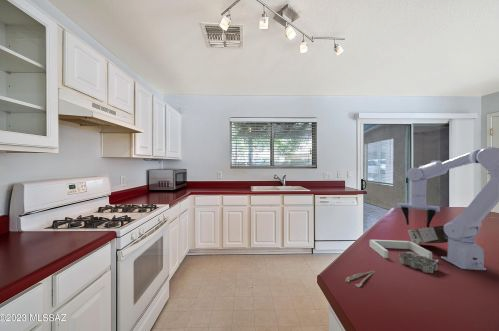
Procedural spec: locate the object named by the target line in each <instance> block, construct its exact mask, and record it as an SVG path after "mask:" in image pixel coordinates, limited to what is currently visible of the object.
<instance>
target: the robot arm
mask: <svg viewBox="0 0 499 331" xmlns="http://www.w3.org/2000/svg"><path fill="white" fill-rule="evenodd" d="M471 164H480V165H481V166H482V167H483V168H485V170H486V171H487V172H488V174H489V175H490V177H491V178H490V179H489V181H488V182H487V183H486V184H485V185H484V186H483V187H482V188H481V190H480V191H479V193H478V194H477V195H475V197H474V198H473V199H472V201H471V202H470V203H469V205H468V206H467V207H466V208H465V209H464V211H463V212H462V213H460V214H458V215H457V216H455V217H454V218H453V219H452V220H450V221H448V222H446V223H445V224H444V225H443V226H444V232H445V234H446V235H447V236H448V242H447V256H440V258H441V259H443V260H445V261H447V262H449V263H451V264H453V265H454V266H456V267H458V268H459V269H462V270H475V271H487V268H486V267H485V251H484V249H483V248H482V247H481V246H480V245H478V243H476V238H475V237H477V236H478V235H479V233H480V228H481V226H483V223H482V222H483V220H484V219H485V218H486V217H487V216H488V215H489V213H490V212H491V211H492V210H493V209H494V208H495V207H496V205H497V204H499V147H495V146H487V147H483V148H481V149H475V150H471V151H470V152H467V153H464V154H462V155H459V156H456V157H454V158H451V159H448V160H445V161H442V160H431V161H430V163H428V164H421V165H419V167H410V168H409V169H408V170H407V172H406V177H407V178H408V180H409V203H407V202H405V203H404V202H397V208H401V210H402V213H403V215H404V217H405V221H406V222H405V223H406V225H407V226H409V225H410V221H409V214H410V212H409V211H410V210H409V209H413V210H420V211H421V210H422V211H426V224H425V226H426V227H425V228H429V227H430V225H431V221H432V220H433V218H434V216H435V215H436V213H437V212H439V213H440V212H441V208H440V206H438V205H437V206H436V205H431V204H430V205H428V204H427V183H428V180H429V179H431V178H435V177H437V176H439V177H440V176H441V175H445V174H446V173H448V171H449V170H451V169H455V168H460V167H462V166H466V165H471Z"/></svg>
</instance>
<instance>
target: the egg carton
mask: <svg viewBox="0 0 499 331" xmlns="http://www.w3.org/2000/svg"><path fill="white" fill-rule="evenodd" d="M397 254H398V262H399V263H400V264H401V265H407V266H409V267H411V268H413V269H419V270H422V272H423V273H428V274H429V273H430V274H434V271H435V272H436V271H438V263H439V259H434V258H432V259H430V258H427V257H426V256H421V255H419V254H417V253H415V252H414V251H406V252H405V251H404V252H400V251H398V252H397Z"/></svg>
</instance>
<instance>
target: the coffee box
mask: <svg viewBox="0 0 499 331" xmlns="http://www.w3.org/2000/svg"><path fill="white" fill-rule="evenodd" d="M407 233H408V235H409V237H410V240H411V242H413V243H415V244H417V245H425V244H443V243H448V236H447V235H446V234H445V232H444V225H438V226H431V227H430V226H429V228H428V227H424V228H423V227H422V228H416V229H409V230H407Z"/></svg>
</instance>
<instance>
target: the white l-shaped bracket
mask: <svg viewBox="0 0 499 331" xmlns="http://www.w3.org/2000/svg"><path fill="white" fill-rule="evenodd" d="M368 242H369V243H368V244H369V247H370V248H371V249H373V251H374V252H377V253H378V254H379V255H380V256H381V257H382V258H384V259H388V257H389V250H388V249H404V250H411V252H413V253H415V254H417V255H421V256H426V257H427V258H430V259H433V251H430V250H428V249H426V248H424V247H422V246H420V244H415V243H413V242H412V241H410V240H394V239H393V240H391V239H389V240H388V239H369V241H368Z"/></svg>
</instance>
